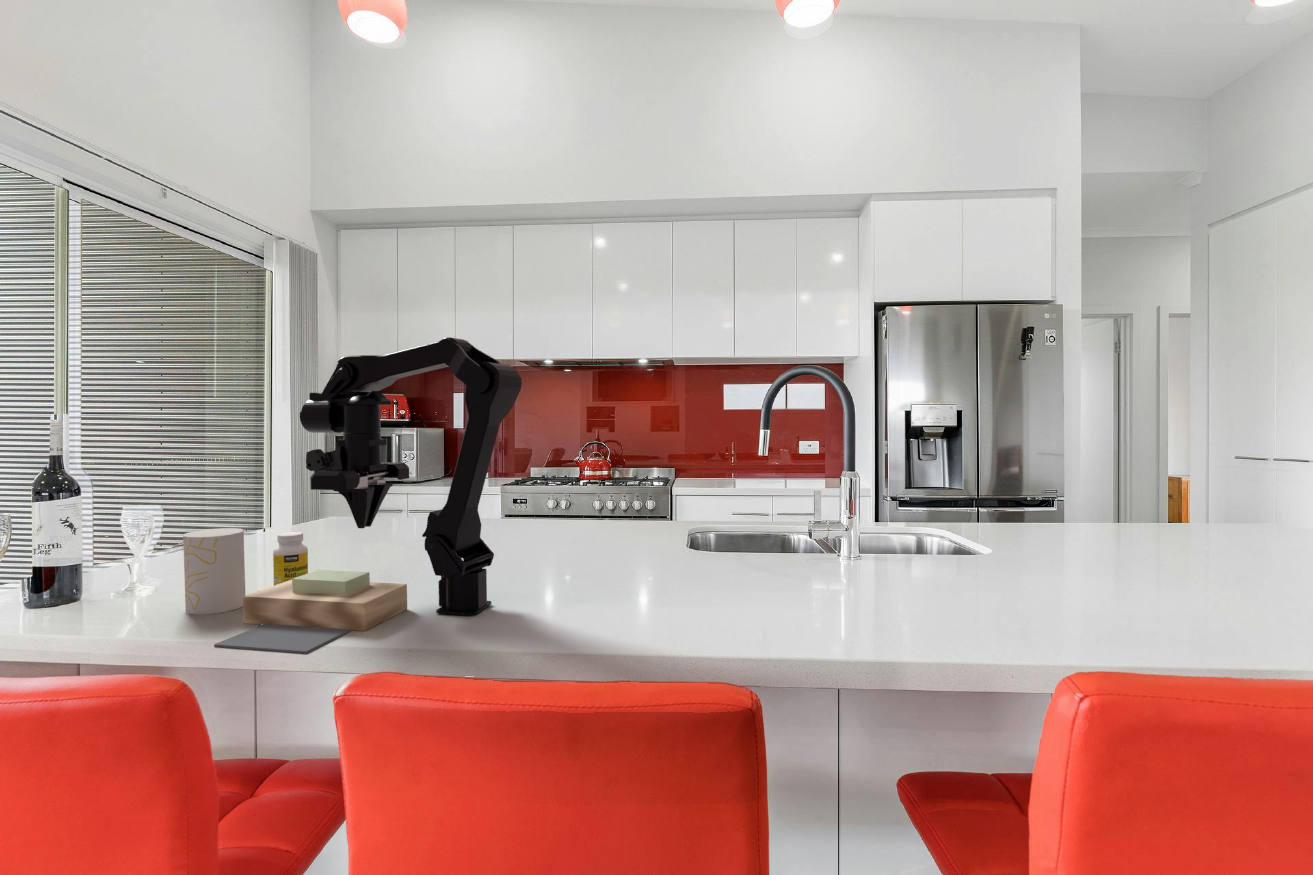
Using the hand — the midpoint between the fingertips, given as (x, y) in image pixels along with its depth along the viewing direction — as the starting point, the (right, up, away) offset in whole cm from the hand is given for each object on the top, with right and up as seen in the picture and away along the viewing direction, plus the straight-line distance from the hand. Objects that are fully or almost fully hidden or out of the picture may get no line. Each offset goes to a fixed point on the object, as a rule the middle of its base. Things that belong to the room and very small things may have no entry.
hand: (364, 527), depth 115 cm
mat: (-3, -13, -19) cm, 23 cm away
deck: (-2, -12, -9) cm, 15 cm away
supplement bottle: (-16, -12, +7) cm, 21 cm away
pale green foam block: (-2, -8, -8) cm, 12 cm away
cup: (-22, -13, -4) cm, 26 cm away
